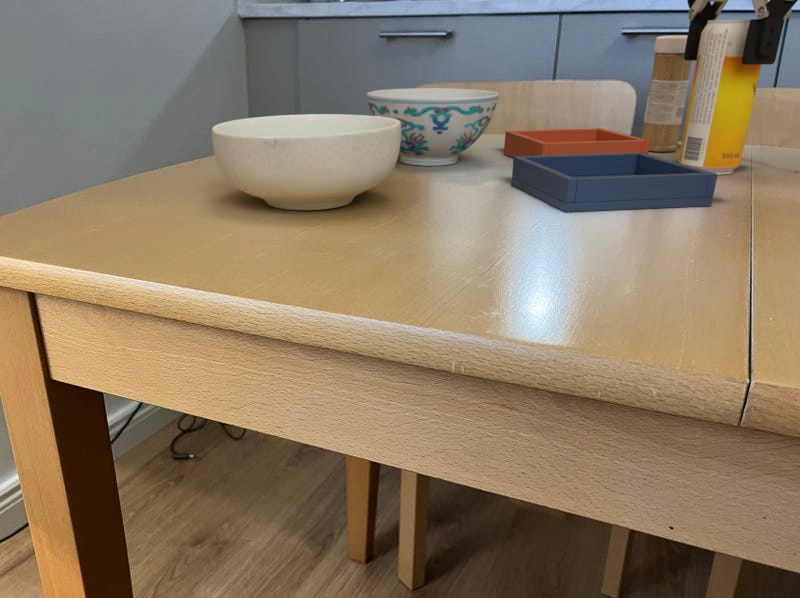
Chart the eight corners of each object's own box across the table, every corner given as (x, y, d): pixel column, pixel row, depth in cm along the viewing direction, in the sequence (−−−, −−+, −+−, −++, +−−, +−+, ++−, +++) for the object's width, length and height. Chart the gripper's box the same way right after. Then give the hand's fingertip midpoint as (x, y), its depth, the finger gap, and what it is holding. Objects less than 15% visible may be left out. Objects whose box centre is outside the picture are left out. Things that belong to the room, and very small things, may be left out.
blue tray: (637, 180, 77) (641, 152, 76) (711, 206, 66) (718, 173, 65) (510, 184, 76) (513, 156, 75) (564, 212, 64) (569, 179, 63)
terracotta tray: (598, 150, 96) (601, 128, 95) (646, 165, 85) (650, 140, 84) (503, 154, 94) (505, 130, 93) (540, 169, 84) (543, 143, 83)
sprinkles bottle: (653, 146, 99) (672, 35, 93) (685, 150, 95) (705, 35, 90) (631, 149, 97) (648, 35, 91) (662, 153, 93) (682, 35, 88)
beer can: (749, 171, 81) (782, 19, 75) (718, 177, 78) (750, 19, 72) (696, 164, 86) (724, 20, 80) (665, 169, 83) (691, 20, 77)
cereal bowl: (292, 178, 80) (290, 109, 77) (431, 195, 71) (435, 117, 68) (177, 207, 67) (170, 125, 65) (329, 232, 59) (329, 139, 56)
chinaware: (414, 177, 80) (417, 100, 77) (342, 158, 92) (342, 91, 89) (520, 164, 87) (527, 94, 84) (440, 148, 99) (443, 86, 96)
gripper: (876, -152, 63) (821, 65, 70) (743, -116, 79) (708, 59, 86) (795, -155, 62) (747, 66, 69) (676, -118, 78) (647, 59, 85)
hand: (726, 62), depth 78 cm, fingers open, 9 cm apart
